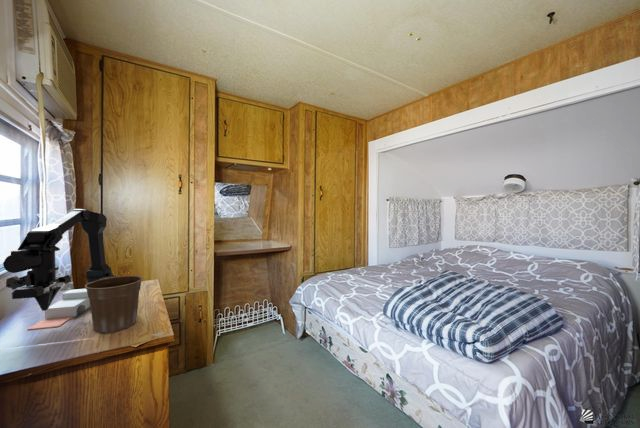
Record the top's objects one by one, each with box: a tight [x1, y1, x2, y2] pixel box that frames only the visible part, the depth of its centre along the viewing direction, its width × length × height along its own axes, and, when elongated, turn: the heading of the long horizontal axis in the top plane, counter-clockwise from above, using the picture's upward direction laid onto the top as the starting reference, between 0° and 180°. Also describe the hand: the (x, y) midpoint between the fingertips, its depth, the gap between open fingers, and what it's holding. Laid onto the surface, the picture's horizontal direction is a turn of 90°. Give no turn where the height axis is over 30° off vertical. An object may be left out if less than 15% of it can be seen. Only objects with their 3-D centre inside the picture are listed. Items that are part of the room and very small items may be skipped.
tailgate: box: [27, 316, 75, 331], centre depth 95 cm, size 1×9×8 cm
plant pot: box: [84, 275, 144, 334], centre depth 94 cm, size 16×16×16 cm
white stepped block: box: [44, 288, 91, 319], centre depth 106 cm, size 15×11×7 cm
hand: (44, 310), depth 91 cm, fingers closed
